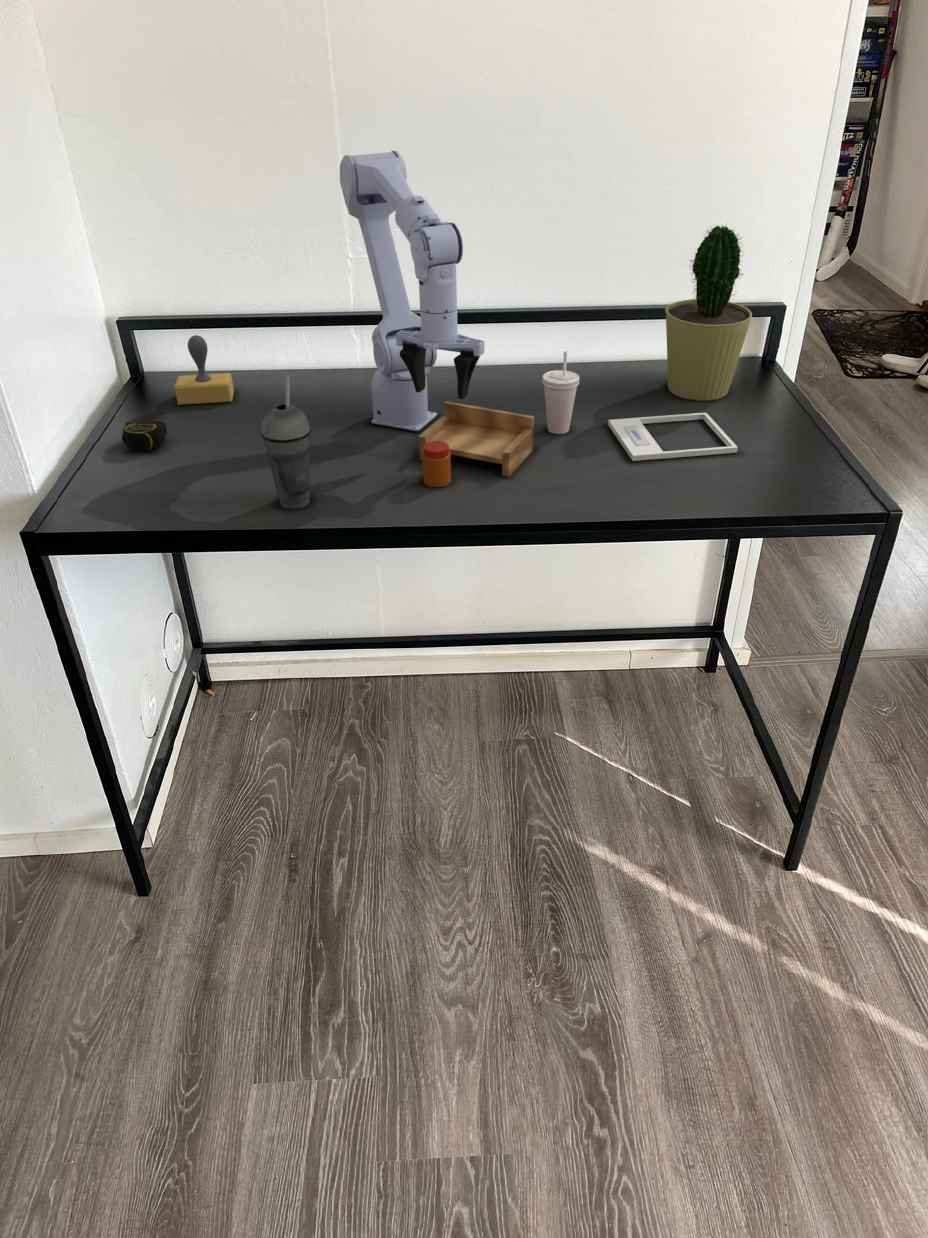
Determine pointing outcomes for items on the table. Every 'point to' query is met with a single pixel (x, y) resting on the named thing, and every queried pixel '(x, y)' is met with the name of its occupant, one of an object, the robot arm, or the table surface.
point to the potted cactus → (707, 322)
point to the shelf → (483, 435)
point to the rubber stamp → (203, 380)
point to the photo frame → (646, 447)
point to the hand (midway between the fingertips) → (441, 393)
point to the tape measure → (144, 434)
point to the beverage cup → (288, 452)
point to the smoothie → (560, 397)
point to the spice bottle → (436, 464)
